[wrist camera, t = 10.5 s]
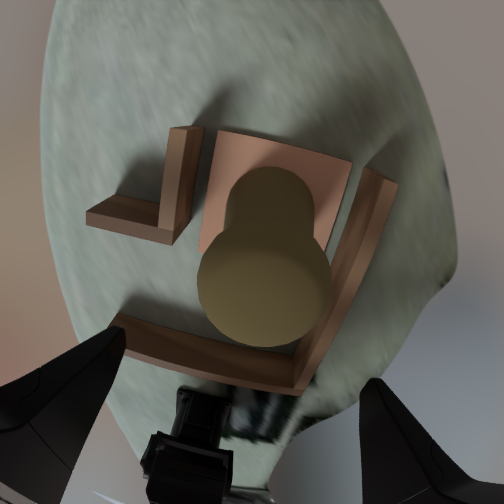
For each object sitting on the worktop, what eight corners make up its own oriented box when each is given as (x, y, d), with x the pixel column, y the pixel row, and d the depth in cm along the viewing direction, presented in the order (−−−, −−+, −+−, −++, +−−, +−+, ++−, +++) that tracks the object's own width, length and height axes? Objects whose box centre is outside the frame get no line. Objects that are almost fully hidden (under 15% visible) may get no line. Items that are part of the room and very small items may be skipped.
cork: (221, 242, 21) (175, 353, 11) (232, 159, 18) (178, 211, 8) (303, 256, 21) (320, 376, 11) (323, 176, 18) (376, 247, 8)
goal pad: (313, 275, 22) (314, 278, 21) (199, 249, 22) (197, 252, 21) (350, 162, 18) (352, 163, 17) (219, 130, 18) (218, 130, 17)
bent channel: (299, 364, 26) (300, 396, 23) (118, 320, 26) (100, 346, 22) (376, 171, 18) (399, 184, 14) (121, 117, 17) (90, 121, 14)
